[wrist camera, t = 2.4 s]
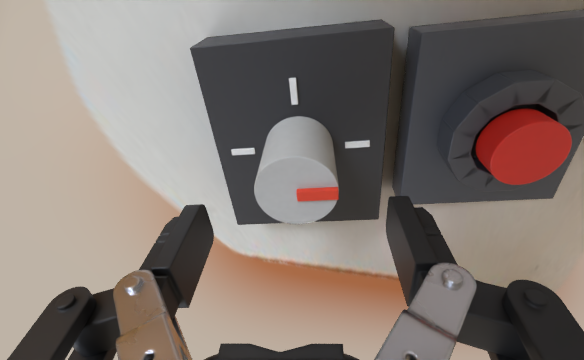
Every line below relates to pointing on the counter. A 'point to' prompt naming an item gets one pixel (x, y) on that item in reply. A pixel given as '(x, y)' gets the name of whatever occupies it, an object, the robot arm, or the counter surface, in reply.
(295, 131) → the timer knob
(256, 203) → the panel
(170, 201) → the counter surface
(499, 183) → the power block
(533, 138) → the power button
